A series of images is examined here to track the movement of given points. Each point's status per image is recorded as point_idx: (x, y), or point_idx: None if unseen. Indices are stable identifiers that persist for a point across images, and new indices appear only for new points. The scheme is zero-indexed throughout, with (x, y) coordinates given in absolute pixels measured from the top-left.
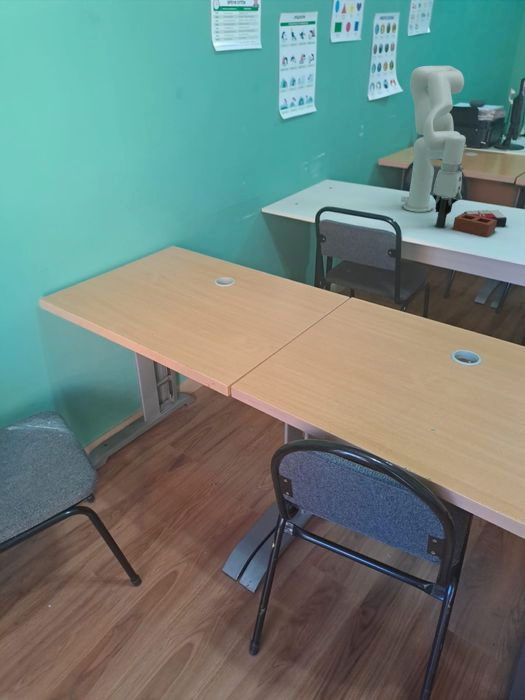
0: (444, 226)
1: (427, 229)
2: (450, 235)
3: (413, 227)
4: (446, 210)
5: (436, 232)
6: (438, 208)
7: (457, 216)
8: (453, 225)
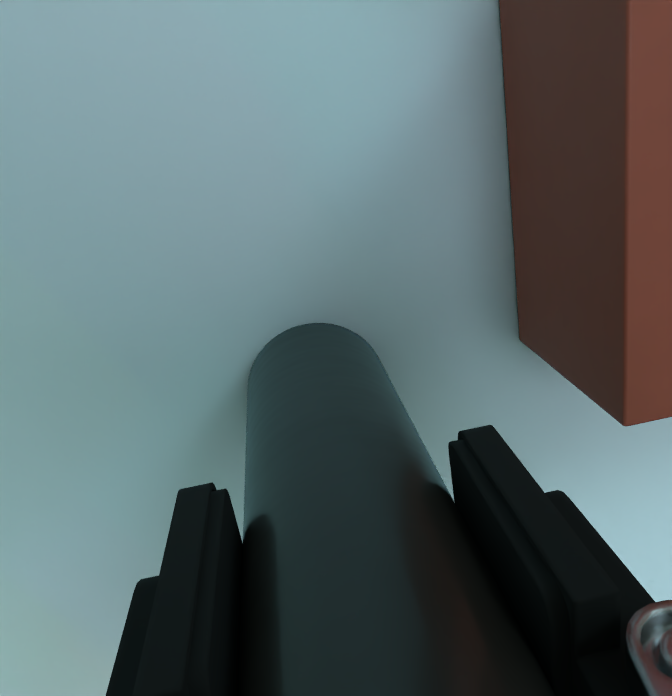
0: (379, 360)
1: None
2: (613, 547)
3: (107, 684)
4: None
5: None
6: None
7: (636, 320)
8: (550, 362)
